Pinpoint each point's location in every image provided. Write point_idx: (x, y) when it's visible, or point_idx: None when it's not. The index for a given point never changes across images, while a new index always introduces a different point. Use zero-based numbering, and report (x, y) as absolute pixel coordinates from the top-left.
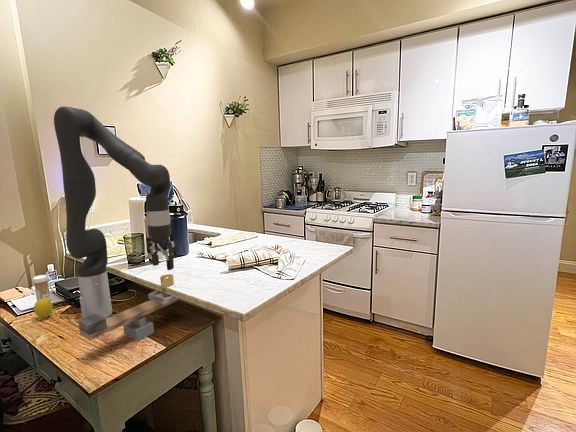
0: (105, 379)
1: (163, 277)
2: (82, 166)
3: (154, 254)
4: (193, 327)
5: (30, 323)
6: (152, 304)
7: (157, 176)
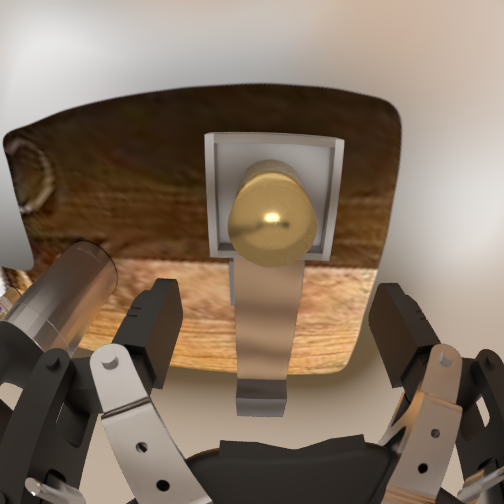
0: (341, 358)
1: (268, 250)
2: None
3: (147, 386)
4: (383, 176)
5: None
6: (278, 269)
7: None
